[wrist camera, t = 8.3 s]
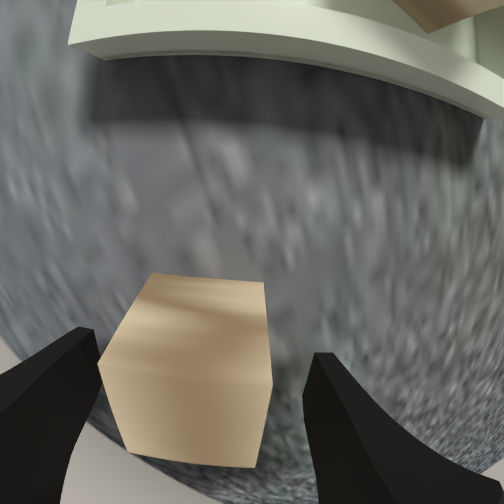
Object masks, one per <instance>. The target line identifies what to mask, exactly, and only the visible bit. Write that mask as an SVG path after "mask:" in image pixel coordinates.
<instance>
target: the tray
mask: <svg viewBox="0 0 504 504" xmlns="http://www.w3.org/2000/svg"><path fill="white" fill-rule="evenodd" d="M68 45H69V46H72V47H74V48H77V49H79V50H82V51H84V52H86V53H89V54H91V55H93V56H96V57H98V58H100V59H103V60H105V61H106V60H114V59H123V58H134V57H146V56H165V55H221V56H240V57H253V58H264V59H273V60H281V61H289V62H296V63H303V64H309V65H315V66H320V67H326V68H331V69H336V70H341V71H345V72H350V73H354V74H358V75H362V76H366V77H370V78H374V79H378V80H381V81H385V82H388V83H392V84H395V85H398V86H402V87H405V88H408V89H411V90H414V91H417V92H420V93H423V94H426V95H428V96H431V97H434V98H437V99H439V100H442V101H444V102H447V103H450V104H452V105H454V106H457V107H459V108H462V109H464V110H466V111H469V112H471V113H473V114H475V115H478V116H480V117H482V118H484V119H497V120H504V5H503V6H500V7H497V8H494V9H491V10H488V11H485V12H482V13H479V14H476V15H474V16H471V17H468V18H466V19H463V20H461V21H458V22H456V23H453V24H451V25H448V26H446V27H443V28H441V29H439V30H436V31H434V32H432V33H430V34H427V33H426V32H425V31H424V30H423V29H422V28H421V27H420V26H419V25H418V24H417V23H416V22H415V21H414V20H413V19H412V18H411V17H410V16H409V15H408V14H407V13H406V12H405V11H404V10H403V9H401V8H400V7H399V6H398V5H397V4H396V3H395V2H394V1H393V0H78V1H77V5H76V9H75V13H74V17H73V22H72V26H71V31H70V36H69V41H68Z"/></svg>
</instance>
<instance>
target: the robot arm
mask: <svg viewBox="0 0 504 504" xmlns="http://www.w3.org/2000/svg"><path fill="white" fill-rule="evenodd" d="M99 360H100V355H99V351H98V346H97V342H96V338H95V333H94V330H93V329H88V328H83V327H77V328H75V329H73V330H72V331H70V332H68V333H67V334H65V335H64V336H62V337H61V338H59V339H58V340H56V341H54V342H53V343H51V344H50V345H48V346H47V347H45V348H44V349H42V350H41V351H39V352H38V353H36V354H35V355H33V356H31V357H30V358H28V359H26V360H25V361H23V362H21V363H20V364H18V365H16V366H15V367H13V368H11V369H10V370H8V371H6V372H4V373H2V374H0V504H60V499H61V493H62V488H63V484H64V479H65V475H66V471H67V468H68V464H69V460H70V457H71V454H72V451H73V449H74V446H75V444H76V442H77V439H78V437H79V435H80V433H81V431H82V429H83V426H84V424H85V422H86V420H87V418H88V416H89V414H90V412H91V409H92V407H93V405H94V403H95V401H96V399H97V396H98V393H99V390H100V387H101V384H102V378H101V374H100V371H99V367H98V362H99ZM302 398H303V412H304V422H305V427H306V432H307V437H308V442H309V447H310V451H311V456H312V461H313V465H314V470H315V475H316V481H317V488H318V501H319V504H504V491H503V489H502V486H501V484H500V482H499V481H497V480H494V479H491V478H489V477H486V476H483V475H480V474H478V473H475V472H473V471H470V470H468V469H466V468H464V467H462V466H460V465H458V464H456V463H454V462H452V461H450V460H449V459H447V458H445V457H443V456H442V455H440V454H438V453H437V452H435V451H434V450H432V449H431V448H429V447H428V446H426V445H425V444H423V443H422V442H420V441H419V440H418V439H416V438H415V437H414V436H412V435H411V434H410V433H409V432H407V431H406V430H405V429H404V428H403V427H401V426H400V425H399V424H398V423H397V422H396V421H394V420H393V419H392V418H391V417H390V416H389V415H388V414H387V413H386V412H385V411H384V410H383V409H382V408H381V407H380V406H379V405H378V404H377V403H376V402H375V401H374V400H373V399H372V398H371V397H370V396H369V394H368V393H367V392H366V391H365V390H364V389H363V388H362V387H361V386H360V384H359V383H358V382H357V381H356V380H355V379H354V377H353V376H352V375H351V374H350V373H349V371H348V370H347V369H346V368H345V367H344V365H343V364H342V363H341V362H340V361H339V359H338V358H337V357H336V356H335V355H334V353H317V352H315V353H314V357H313V360H312V364H311V367H310V371H309V374H308V378H307V381H306V385H305V388H304V392H303V395H302Z"/></svg>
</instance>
